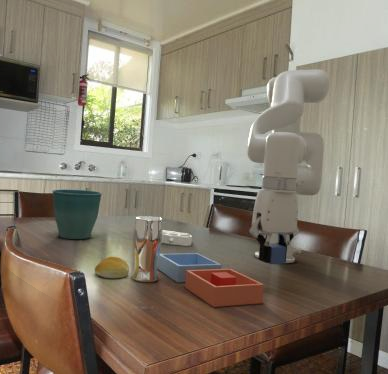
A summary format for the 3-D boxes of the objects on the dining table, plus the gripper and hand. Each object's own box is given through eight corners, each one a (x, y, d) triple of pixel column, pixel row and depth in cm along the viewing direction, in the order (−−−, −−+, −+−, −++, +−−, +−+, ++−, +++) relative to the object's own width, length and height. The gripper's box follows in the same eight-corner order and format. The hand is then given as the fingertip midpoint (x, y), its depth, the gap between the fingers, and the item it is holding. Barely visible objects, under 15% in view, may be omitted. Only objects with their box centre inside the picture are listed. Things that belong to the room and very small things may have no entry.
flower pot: (75, 244, 125) (79, 194, 125) (39, 235, 135) (41, 189, 134) (108, 237, 141) (111, 193, 140) (73, 230, 150) (76, 189, 150)
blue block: (272, 259, 91) (274, 243, 91) (284, 263, 88) (286, 247, 87) (259, 259, 90) (261, 243, 90) (271, 264, 86) (272, 247, 86)
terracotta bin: (229, 285, 90) (230, 268, 90) (262, 303, 79) (264, 284, 79) (184, 287, 86) (186, 270, 86) (213, 307, 75) (215, 287, 75)
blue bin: (196, 267, 105) (197, 253, 105) (220, 280, 94) (221, 264, 94) (157, 268, 101) (158, 253, 101) (177, 282, 90) (178, 265, 89)
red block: (224, 289, 85) (226, 272, 85) (235, 295, 81) (236, 277, 81) (209, 290, 84) (211, 272, 83) (219, 296, 80) (221, 277, 80)
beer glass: (150, 285, 86) (154, 221, 85) (125, 278, 90) (129, 217, 89) (164, 278, 92) (168, 218, 91) (140, 272, 96) (144, 215, 95)
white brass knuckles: (197, 241, 145) (186, 248, 132) (154, 235, 152) (140, 240, 139) (198, 233, 145) (187, 238, 132) (155, 227, 152) (141, 231, 139)
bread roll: (91, 277, 89) (92, 260, 89) (101, 267, 98) (102, 253, 98) (124, 281, 88) (125, 264, 88) (131, 271, 97) (132, 256, 96)
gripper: (294, 185, 94) (288, 255, 95) (239, 182, 88) (233, 258, 89) (318, 187, 87) (311, 264, 88) (260, 185, 81) (253, 267, 82)
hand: (272, 260), depth 89 cm, fingers closed on blue block, 4 cm apart
